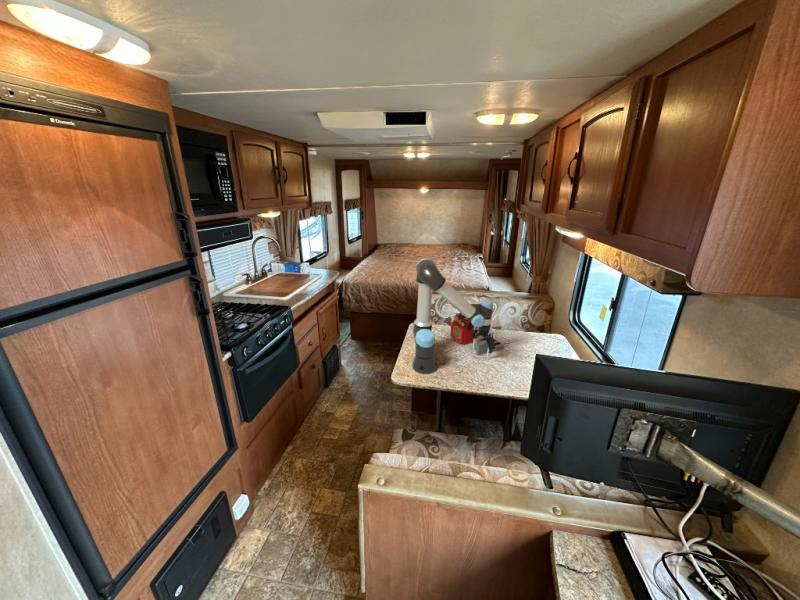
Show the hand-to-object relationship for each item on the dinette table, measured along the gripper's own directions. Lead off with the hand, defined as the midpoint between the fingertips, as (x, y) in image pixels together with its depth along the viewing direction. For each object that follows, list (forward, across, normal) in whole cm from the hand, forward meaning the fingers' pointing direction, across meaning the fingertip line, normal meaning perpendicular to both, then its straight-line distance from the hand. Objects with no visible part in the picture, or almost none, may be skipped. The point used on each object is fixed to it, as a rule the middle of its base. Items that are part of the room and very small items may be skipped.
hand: (481, 351), depth 204 cm
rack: (+1, +5, -12) cm, 13 cm away
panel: (+1, 0, 0) cm, 1 cm away
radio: (+2, +21, 0) cm, 21 cm away
